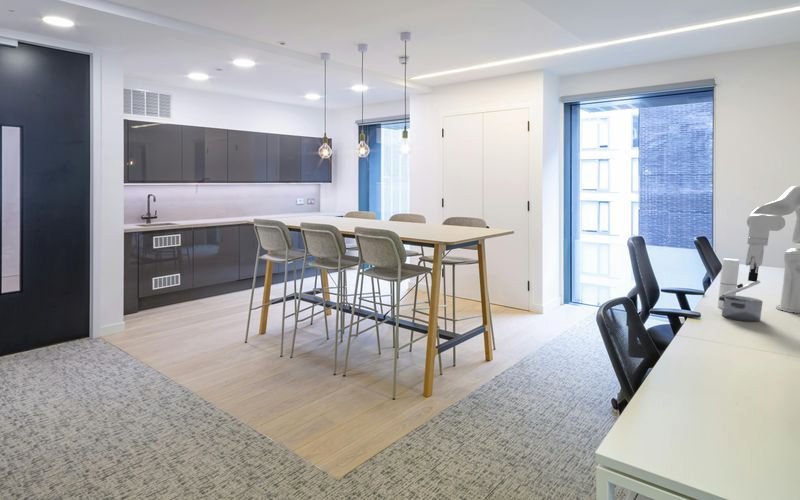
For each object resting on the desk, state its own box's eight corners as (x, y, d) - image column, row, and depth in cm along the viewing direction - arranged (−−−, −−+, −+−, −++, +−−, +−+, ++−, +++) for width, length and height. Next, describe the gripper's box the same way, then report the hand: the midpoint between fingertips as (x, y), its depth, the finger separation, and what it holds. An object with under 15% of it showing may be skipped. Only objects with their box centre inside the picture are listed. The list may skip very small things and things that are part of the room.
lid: (728, 294, 241) (725, 289, 242) (763, 280, 231) (760, 275, 232) (720, 298, 231) (717, 293, 231) (756, 284, 220) (753, 279, 221)
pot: (724, 310, 245) (726, 292, 244) (764, 317, 233) (766, 298, 232) (713, 317, 231) (715, 298, 230) (755, 325, 220) (757, 305, 219)
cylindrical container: (719, 308, 249) (725, 259, 246) (715, 305, 256) (720, 258, 253) (736, 309, 247) (741, 260, 244) (731, 306, 254) (736, 258, 251)
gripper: (751, 240, 233) (746, 278, 235) (744, 241, 222) (739, 281, 225) (770, 241, 227) (765, 280, 230) (764, 243, 217) (758, 284, 219)
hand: (752, 280), depth 227 cm, fingers closed
